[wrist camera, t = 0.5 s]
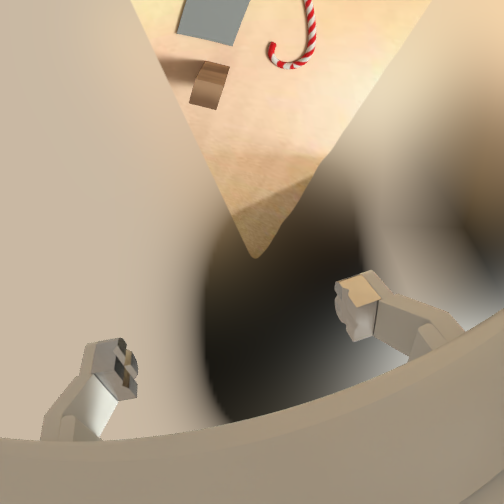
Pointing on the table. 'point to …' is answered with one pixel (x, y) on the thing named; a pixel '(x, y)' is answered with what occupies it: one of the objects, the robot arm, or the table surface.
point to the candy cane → (310, 42)
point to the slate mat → (213, 19)
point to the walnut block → (209, 85)
